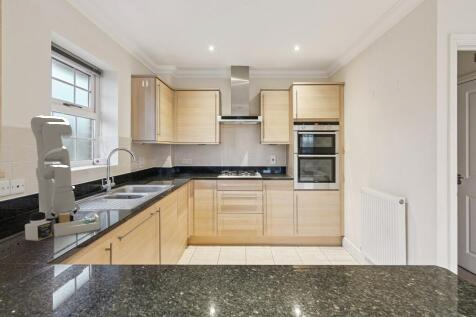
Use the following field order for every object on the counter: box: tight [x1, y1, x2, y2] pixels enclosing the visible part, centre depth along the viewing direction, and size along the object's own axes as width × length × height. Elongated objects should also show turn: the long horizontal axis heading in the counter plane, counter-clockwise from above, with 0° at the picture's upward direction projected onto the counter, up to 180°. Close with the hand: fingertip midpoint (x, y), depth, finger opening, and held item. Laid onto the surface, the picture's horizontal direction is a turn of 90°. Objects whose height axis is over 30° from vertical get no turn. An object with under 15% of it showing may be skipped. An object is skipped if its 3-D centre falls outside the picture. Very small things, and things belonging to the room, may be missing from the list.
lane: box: [53, 213, 101, 237], centre depth 138 cm, size 11×19×6 cm, turn 126°
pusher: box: [83, 216, 95, 224], centre depth 141 cm, size 8×4×4 cm, turn 36°
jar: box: [58, 211, 71, 223], centre depth 145 cm, size 6×6×8 cm
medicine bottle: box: [24, 211, 53, 242], centre depth 126 cm, size 7×7×12 cm
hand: (64, 223), depth 145 cm, fingers closed on jar, 5 cm apart
